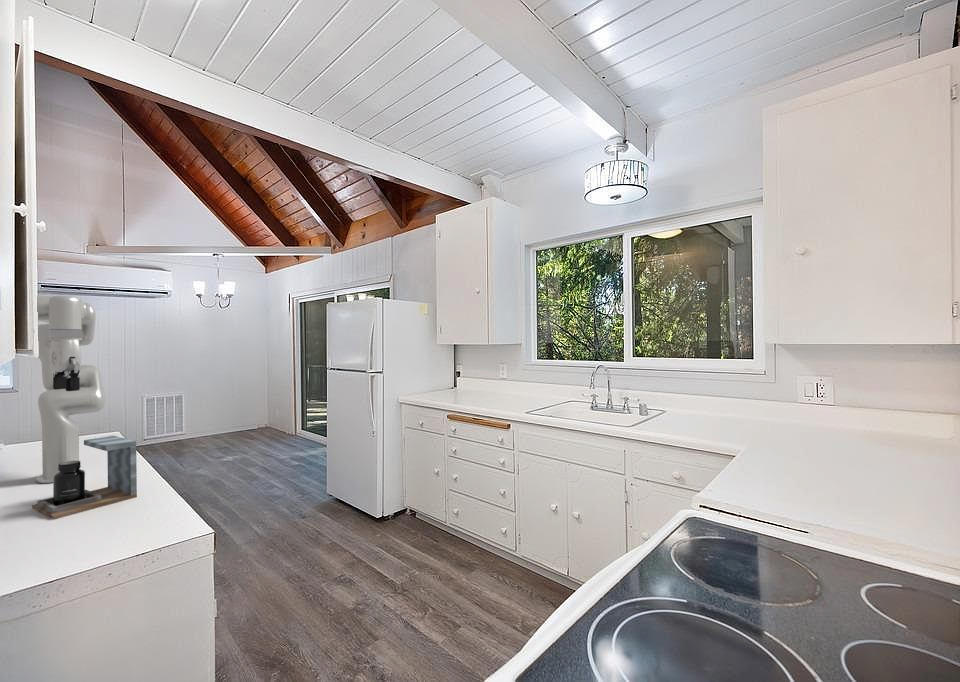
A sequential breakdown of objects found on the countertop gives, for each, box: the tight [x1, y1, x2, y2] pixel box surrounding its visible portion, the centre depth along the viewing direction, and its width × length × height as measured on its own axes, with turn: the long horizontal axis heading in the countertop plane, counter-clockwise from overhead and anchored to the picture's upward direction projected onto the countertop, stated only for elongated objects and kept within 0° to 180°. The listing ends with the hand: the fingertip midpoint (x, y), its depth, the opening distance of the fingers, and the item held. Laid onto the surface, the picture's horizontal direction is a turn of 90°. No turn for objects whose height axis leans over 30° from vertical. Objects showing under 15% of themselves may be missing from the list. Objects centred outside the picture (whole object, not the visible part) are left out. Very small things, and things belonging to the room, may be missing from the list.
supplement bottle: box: [52, 460, 86, 506], centre depth 130 cm, size 7×7×12 cm
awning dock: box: [31, 435, 138, 520], centre depth 133 cm, size 16×20×18 cm
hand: (66, 389), depth 139 cm, fingers open, 9 cm apart
